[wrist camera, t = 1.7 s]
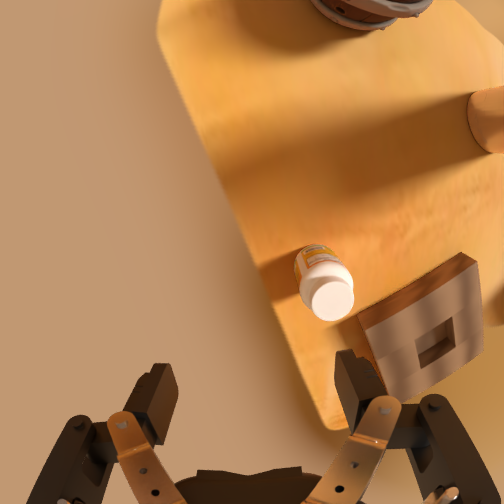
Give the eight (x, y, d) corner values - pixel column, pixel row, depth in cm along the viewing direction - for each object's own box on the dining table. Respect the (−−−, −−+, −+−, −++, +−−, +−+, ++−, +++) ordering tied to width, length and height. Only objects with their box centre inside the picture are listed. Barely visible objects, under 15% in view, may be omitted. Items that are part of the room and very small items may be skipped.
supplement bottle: (319, 293, 35) (336, 337, 25) (284, 270, 34) (291, 310, 25) (346, 259, 33) (373, 293, 24) (311, 234, 32) (329, 262, 23)
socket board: (461, 252, 32) (477, 261, 28) (471, 339, 36) (483, 351, 32) (356, 314, 35) (364, 330, 31) (386, 391, 40) (393, 407, 36)
